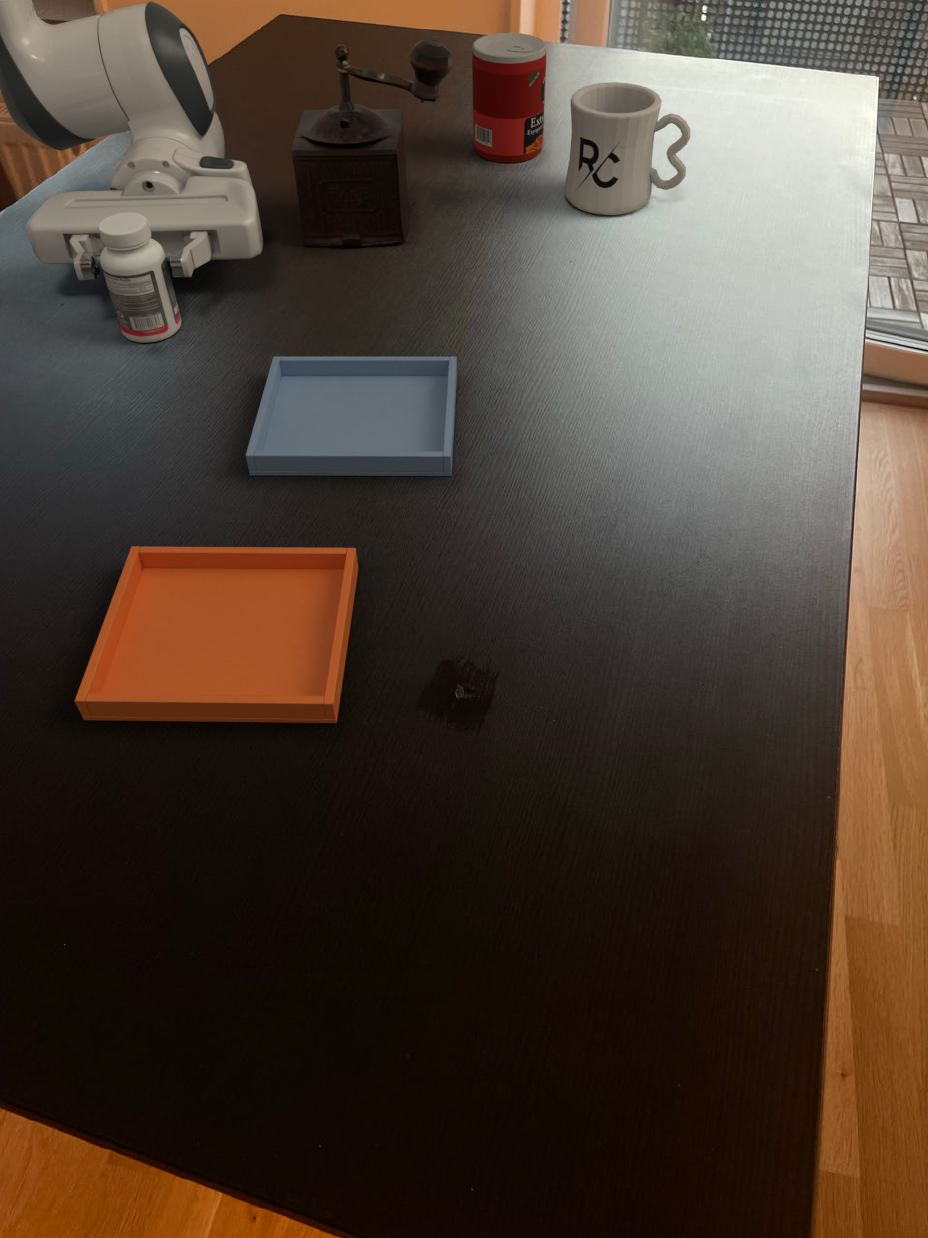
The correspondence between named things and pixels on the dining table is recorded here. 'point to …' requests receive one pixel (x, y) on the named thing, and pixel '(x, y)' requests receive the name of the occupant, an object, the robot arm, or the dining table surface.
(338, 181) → the manual coffee grinder
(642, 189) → the mug
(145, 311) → the pill bottle
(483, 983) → the dining table surface
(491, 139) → the canned food
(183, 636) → the orange tray
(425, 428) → the blue tray
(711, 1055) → the dining table surface
